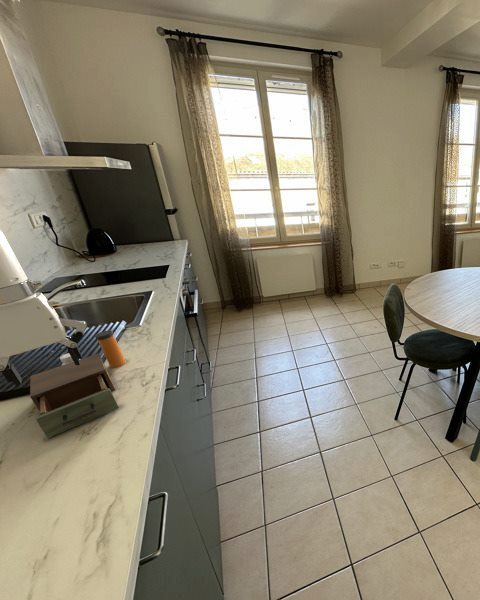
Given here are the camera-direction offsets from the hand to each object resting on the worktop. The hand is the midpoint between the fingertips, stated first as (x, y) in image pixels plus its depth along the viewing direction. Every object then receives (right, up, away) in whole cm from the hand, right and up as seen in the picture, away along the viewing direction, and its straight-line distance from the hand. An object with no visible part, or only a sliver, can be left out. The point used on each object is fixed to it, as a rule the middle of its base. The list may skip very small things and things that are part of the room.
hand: (49, 372), depth 67 cm
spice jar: (-19, -6, +39) cm, 44 cm away
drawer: (-9, -14, +16) cm, 24 cm away
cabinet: (-19, -12, +26) cm, 34 cm away
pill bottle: (-28, -9, +35) cm, 45 cm away
